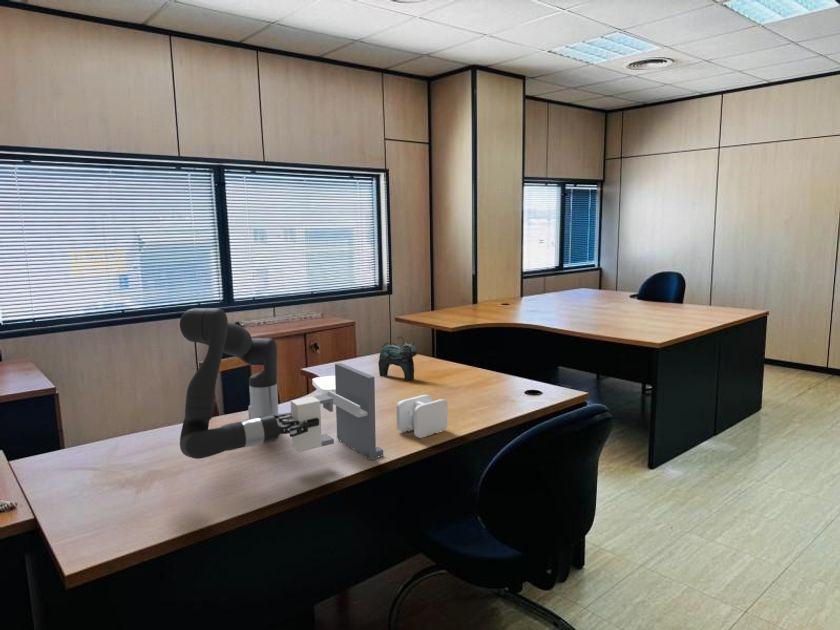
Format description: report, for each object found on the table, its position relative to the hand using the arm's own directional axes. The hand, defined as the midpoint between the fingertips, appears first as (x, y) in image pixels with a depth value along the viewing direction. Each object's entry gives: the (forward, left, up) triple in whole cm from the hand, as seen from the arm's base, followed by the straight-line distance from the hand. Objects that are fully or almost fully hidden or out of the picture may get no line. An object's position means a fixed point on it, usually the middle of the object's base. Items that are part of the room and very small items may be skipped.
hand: (314, 418), depth 168 cm
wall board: (+3, +17, -15) cm, 23 cm away
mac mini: (-40, +77, -16) cm, 88 cm away
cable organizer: (+17, +40, -15) cm, 46 cm away
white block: (0, 0, -8) cm, 8 cm away
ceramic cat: (-23, +100, -15) cm, 103 cm away
